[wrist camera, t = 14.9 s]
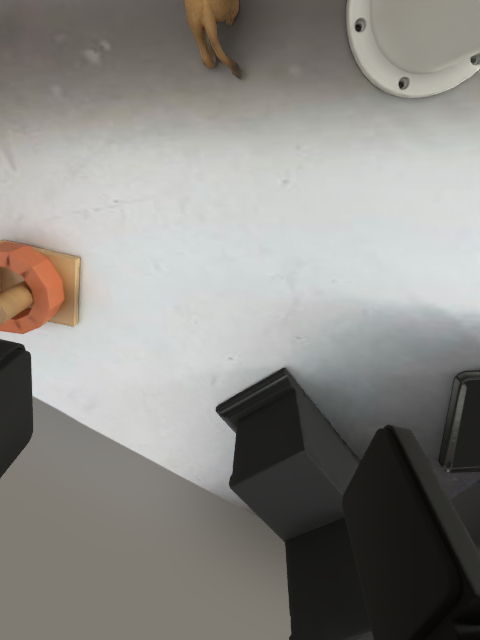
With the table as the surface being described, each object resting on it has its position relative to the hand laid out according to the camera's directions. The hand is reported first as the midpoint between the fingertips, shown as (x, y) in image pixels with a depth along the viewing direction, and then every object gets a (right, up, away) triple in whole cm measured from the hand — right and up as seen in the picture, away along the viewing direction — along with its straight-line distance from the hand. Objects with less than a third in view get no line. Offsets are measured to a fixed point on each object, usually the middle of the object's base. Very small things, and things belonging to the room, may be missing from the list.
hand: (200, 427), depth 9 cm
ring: (-22, +7, +28) cm, 36 cm away
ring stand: (-21, +7, +29) cm, 36 cm away
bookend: (+9, -14, +38) cm, 41 cm away
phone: (+31, -10, +34) cm, 47 cm away
